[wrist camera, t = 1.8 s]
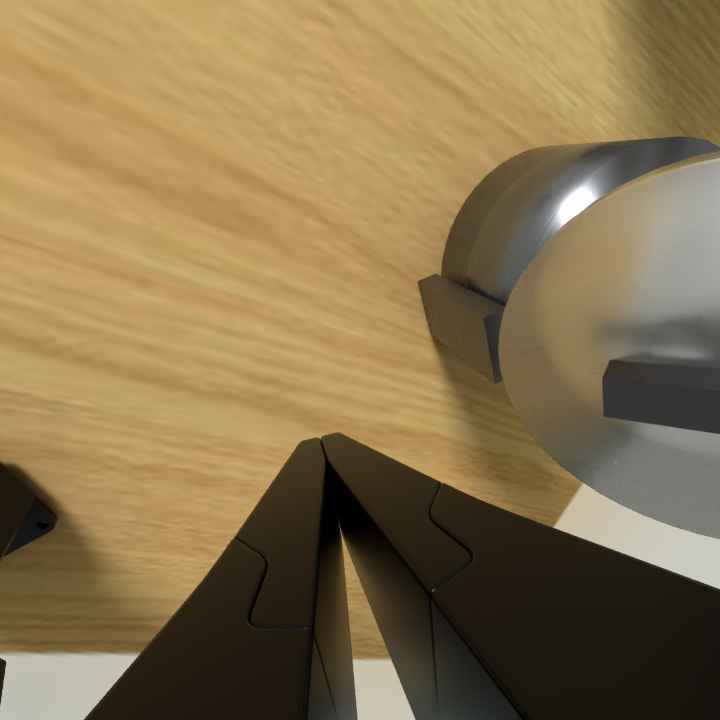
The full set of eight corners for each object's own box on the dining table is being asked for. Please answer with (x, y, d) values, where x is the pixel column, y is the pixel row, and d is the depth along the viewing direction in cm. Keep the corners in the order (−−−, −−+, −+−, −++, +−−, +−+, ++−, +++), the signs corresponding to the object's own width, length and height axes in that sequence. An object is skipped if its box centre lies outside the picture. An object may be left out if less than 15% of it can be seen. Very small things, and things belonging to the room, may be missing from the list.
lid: (527, 469, 19) (511, 503, 18) (485, 189, 13) (456, 210, 12) (991, 582, 11) (1019, 655, 10) (1331, 43, 6) (1485, 59, 5)
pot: (445, 395, 25) (514, 463, 19) (397, 198, 19) (471, 210, 14) (624, 316, 26) (738, 356, 20) (622, 114, 21) (773, 94, 15)
